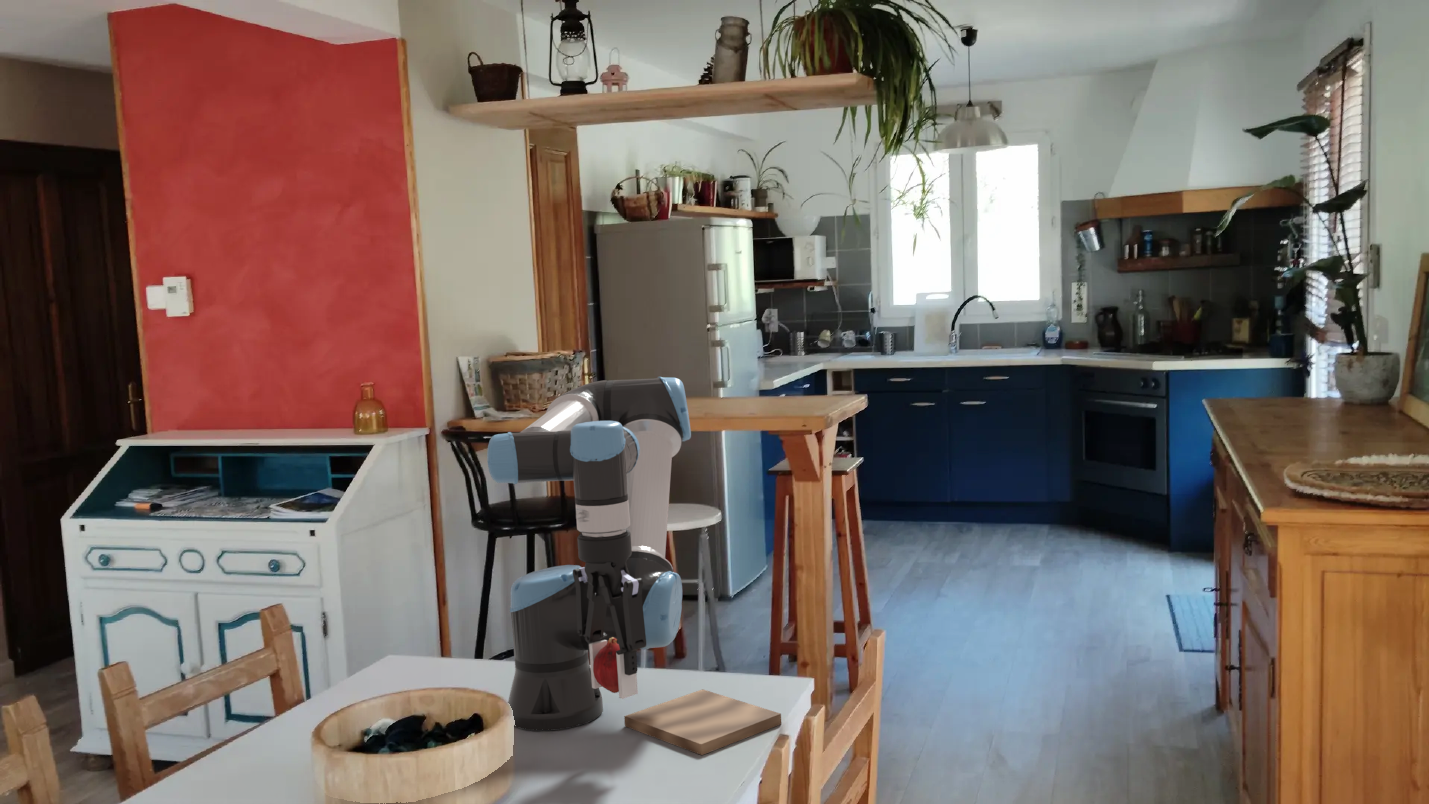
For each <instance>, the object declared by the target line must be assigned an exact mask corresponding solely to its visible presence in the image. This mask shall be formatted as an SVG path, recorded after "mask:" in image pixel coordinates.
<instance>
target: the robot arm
mask: <svg viewBox="0 0 1429 804" xmlns="http://www.w3.org/2000/svg"><path fill="white" fill-rule="evenodd" d="M685 390H686V389H685V386H684V383H683V381H682V380H681V379H679V378H677V377H666V376H665V377H664V376H663V377H662V376H657V377H656V378H638V379H637V378H635V379H614V380H613V379H612V380H611V379H610V380H609V379H606V380H605V379H604V380H598V381H593V382H589V383H585V384H583V385H580V386H578V387H575V388H573V389H571V390H568V391H567V392H564V393H562V394H560V395H559V396H558V397H556V398H555V399H554V400H553V401H551V403H550V404H549V406H548V407H547V409H546V412H545V413H544V414H542V415H541V416H540V417H539V418H538V419H536V420H535V421H533V422H532V423H531V424H530V425H528V426H527V427H526V428H524V429H522V431H520V432H511V431H508V432H507V433H498V434H494V435H492V436H491V438H490V439H489V442H488V445H487V454H486V456H487V457H486V458H487V467H488V468H487V469H488V472H489V475H490V478H491V479H492V480H493V481H494V482H495V483H498V484H513V485H517V484H522V483H523V484H524V483H538V482H539V483H542V482H558V481H560V482H561V481H562V482H564V481H565V482H566V481H573V491H574V493H573V494H574V503H575V519H576V530H577V531H578V532H580V533H579V534H578V536H577V537H576V538H577V549H578V551H577V552H578V554H577V555H578V559H579V560H580V561H581V562H583V563H585V564H584V566H583V567H582V566H580V565H578V564H575V565H574V564H565V565H556V566H551V567H547V568H543V569H542V568H541V569H537V570H534V571H532V572H529V573H527V574H524V575H522V576H520V577H518V578H517V579H515V581H514V582H513V583H512V584H511V587H510V607H509V612H510V617H511V628H512V629H511V630H512V643H513V656H514V668H515V670H514V676H513V680H512V684H511V688H510V692H509V696H508V701H507V703H509V704H510V706H511V708H512V710H513V716H514V720H515V725H516V727H515V728H518V729H521V730H526V731H527V730H528V731H536V732H538V731H540V732H541V731H542V732H543V731H558V730H559V731H560V730H564V729H571V728H575V727H579V726H582V725H584V724H587V723H589V722H592V721H593V720H596V719H597V718H598V717H600V716H601V715H602V714H603V712H604V703H603V696H602V692H601V688H603V687H602V686H601V685H600V684H599V683H598V682H597V680H596V679H595V677H594V672H593V663H594V659H595V657H596V655H597V653H598V652H599V651H600V650H601V649H602V648H603V647H604V646H606V644H607V642H608V640H609V638H612V637H614V638H616V639H617V641H616V642H617V644H619V648H620V650H618V651H616V656H617V671H618V685H619V692H618V696H619V697H618V698H619V699H622V700H625V699H626V698H630V697H632V696H635V695H638V693H639V691H638V679H637V678H638V676H637V673H638V658H637V657H638V656H637V651H638V650H648V649H654V648H655V649H656V648H664V647H668V646H669V645H670V644H671V643H672V642H673V641H674V640H675V638H676V637H677V634H678V631H679V627H680V623H681V617H682V616H681V615H682V608H683V605H682V604H683V603H682V602H683V583H682V578H681V575H679V573H677V572H674V567H673V565H672V564H671V562H670V561H669V560H668V559H666V551H667V549H666V547H667V535H668V533H667V532H668V519H669V516H668V515H669V504H670V488H671V475H672V474H671V473H672V458H673V457H675V456H676V455H677V454H678V453H679V452H680V449H681V447H682V442H686V441H689V440H690V439H691V438H692V429H691V421H690V415H689V414H690V413H689V408H688V403H687V397H686V391H685Z"/></svg>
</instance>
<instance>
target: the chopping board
mask: <svg viewBox="0 0 1429 804" xmlns="http://www.w3.org/2000/svg"><path fill="white" fill-rule="evenodd" d="M623 719H624V727H626V728H629V729H632V730H634V731H636V732H639V733H641V734H644V735H647V736H650V737H652V738H654V739H656V740H657V739H658V740H659V741H660V740H661V741H663V742H666V743H668V744H671V745H674V746H677V747H678V748H682V749H683V750H684V749H685V750H687V751H689V752H692V753H695V754H697V755H700V756H703V755H705V754H708V753H712V752H714V751H716V750H719V749H721V748H723V747H724V748H725V747H726V746H729V745H732V744H733V743H734V744H735V743H737V742H739V741H742V740H744V739H746V738H749V737H752V736H754V735H757V734H759V733H760V734H761V733H762V732H765V731H767V730H769V729H772V728H775V727H777V726H780V725H782V713H780V712H776V711H774V710H770V709H768V708H764V707H760V706H757V705H755V704H752V703H748V702H745V701H741V700H740V699H739V700H738V699H735V698H732V697H729V696H725V695H724V694H723V695H722V694H719V693H717V692H712V691H711V690H706V689H700V690H696V691H693V692H691V693H688V694H685V695H683V696H679V697H676V698H673V699H670V700H667V701H665V702H662V703H658V704H656V705H653V706H650V707H646V708H644V709H641V710H638V711H636V712H632V713H629V714H626V715H624V718H623Z"/></svg>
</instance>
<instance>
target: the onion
mask: <svg viewBox="0 0 1429 804" xmlns="http://www.w3.org/2000/svg"><path fill="white" fill-rule="evenodd" d="M616 641H617V639H616V638H614V637H612V638H609V640H608V642H607V644H606V646H604V647H603V648H602V649H601V650H600V651H599V652H598V653H597V655H596V657H595V659H594V663H593V672H594V677H595V679H596V680H597V682H598V683H599V684H600V685H601V686H602V687H601V688H604V689H605V690H607V691H608V692H611V693H612V694H613V693H614V694H616V693H617V694H618V693H619V685H618V671H617V656H616V651H618V650H620V648H619V644H617V642H616Z"/></svg>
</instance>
